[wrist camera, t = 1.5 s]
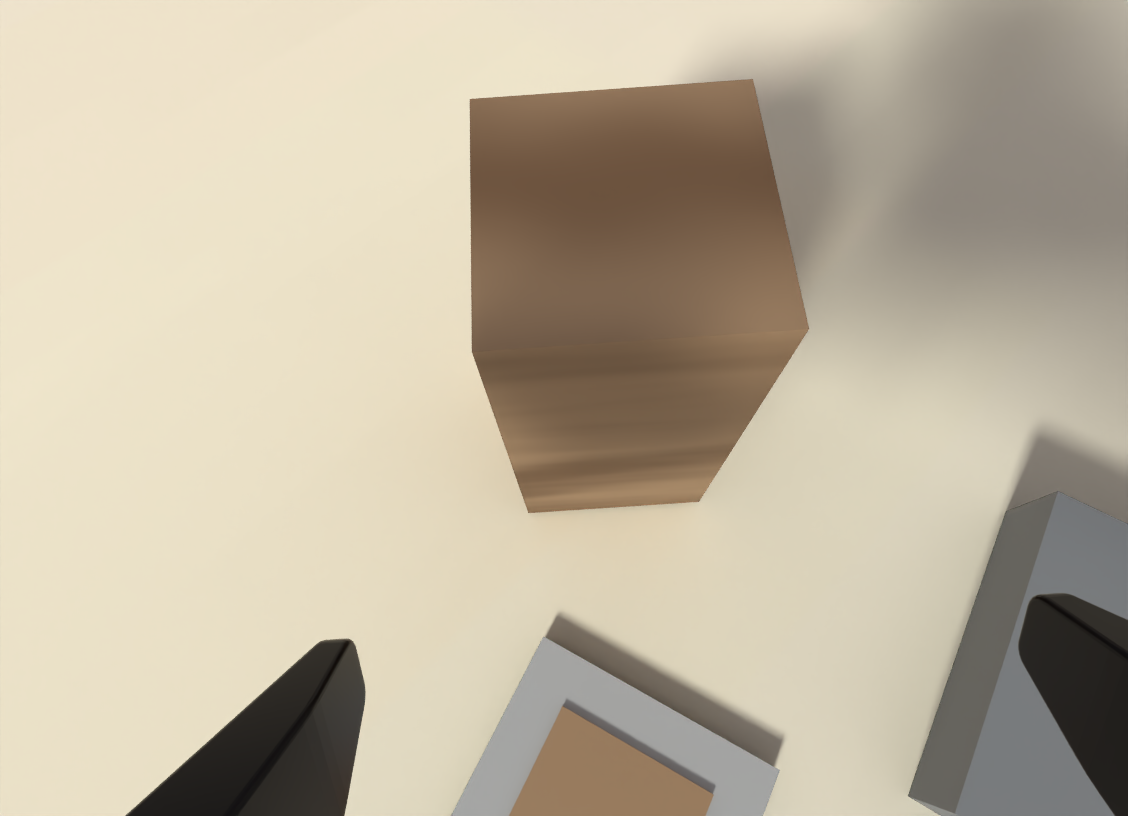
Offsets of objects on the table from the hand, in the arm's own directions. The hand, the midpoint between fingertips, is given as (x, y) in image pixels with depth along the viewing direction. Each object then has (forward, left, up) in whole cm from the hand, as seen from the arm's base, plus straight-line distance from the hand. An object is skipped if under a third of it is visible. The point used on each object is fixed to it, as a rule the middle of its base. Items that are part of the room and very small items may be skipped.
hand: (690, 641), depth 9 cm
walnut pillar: (+7, +4, -14) cm, 16 cm away
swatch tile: (-5, -1, -14) cm, 14 cm away
